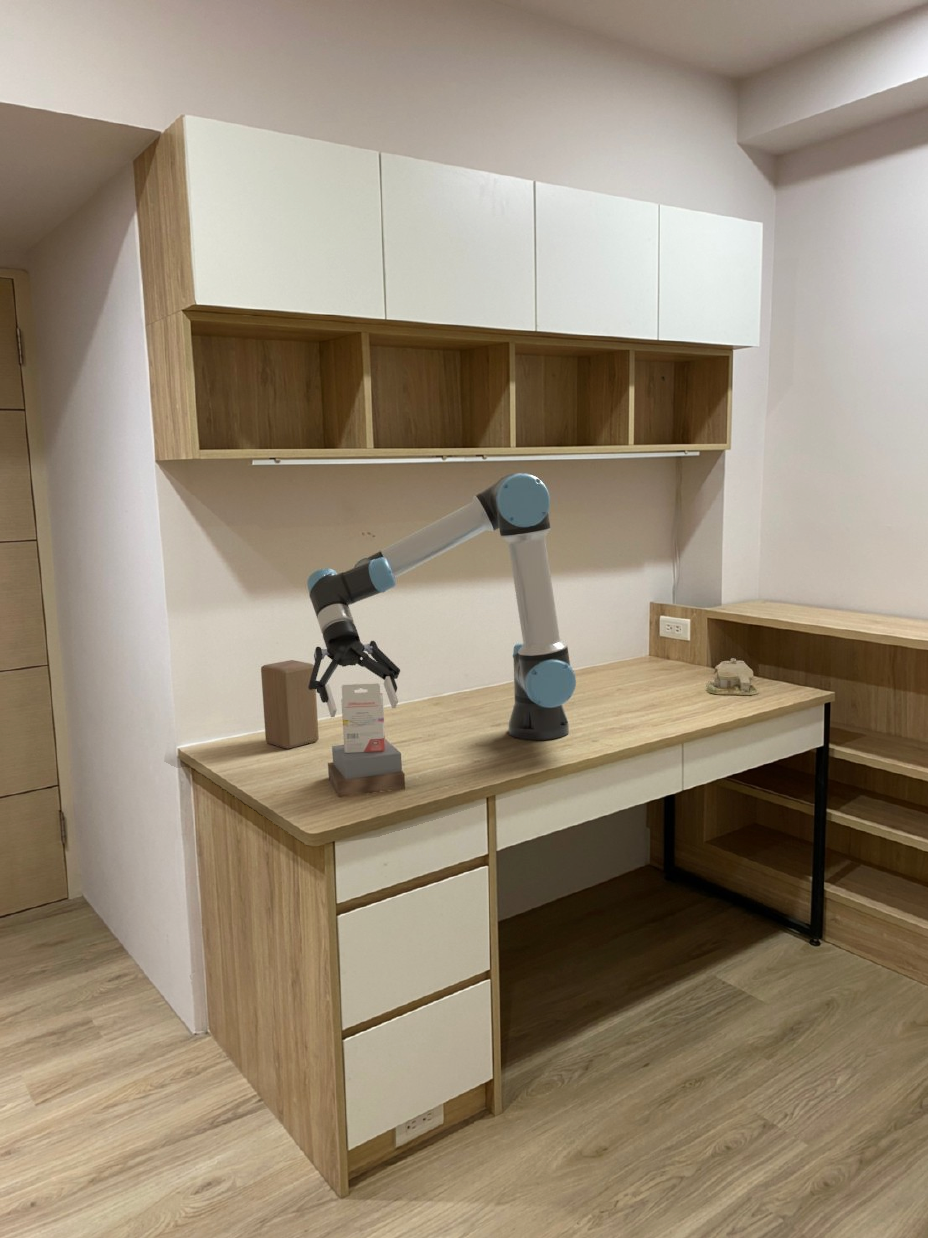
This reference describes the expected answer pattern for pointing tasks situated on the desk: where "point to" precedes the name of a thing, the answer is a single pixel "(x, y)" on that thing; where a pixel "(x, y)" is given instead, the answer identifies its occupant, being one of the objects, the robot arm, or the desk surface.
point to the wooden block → (289, 704)
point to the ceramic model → (732, 679)
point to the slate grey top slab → (367, 762)
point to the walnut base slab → (365, 782)
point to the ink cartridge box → (363, 718)
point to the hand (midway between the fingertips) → (365, 709)
